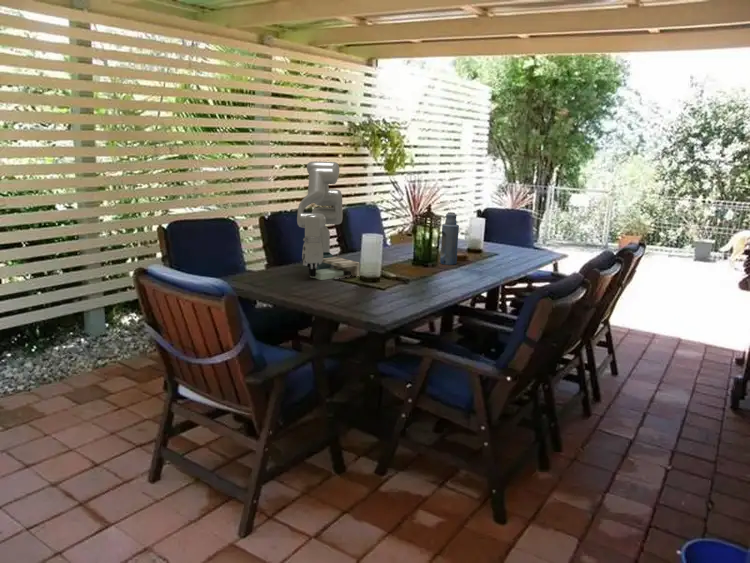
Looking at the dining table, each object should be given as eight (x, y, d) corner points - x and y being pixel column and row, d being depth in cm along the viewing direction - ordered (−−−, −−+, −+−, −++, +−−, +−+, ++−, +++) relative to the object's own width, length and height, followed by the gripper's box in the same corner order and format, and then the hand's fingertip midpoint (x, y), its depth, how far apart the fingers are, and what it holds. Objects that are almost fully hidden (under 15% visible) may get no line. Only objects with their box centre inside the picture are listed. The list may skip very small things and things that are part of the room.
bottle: (437, 262, 349) (439, 211, 343) (452, 261, 352) (455, 211, 346) (444, 265, 340) (446, 213, 334) (459, 264, 343) (462, 213, 337)
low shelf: (315, 273, 309) (315, 259, 307) (336, 270, 318) (336, 256, 316) (338, 280, 294) (338, 265, 293) (359, 276, 303) (359, 262, 301)
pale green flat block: (309, 276, 301) (309, 270, 300) (331, 273, 310) (331, 268, 309) (321, 280, 293) (321, 274, 293) (343, 276, 302) (343, 271, 302)
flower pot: (316, 271, 313) (316, 255, 311) (313, 268, 322) (313, 252, 320) (332, 271, 316) (332, 254, 314) (328, 268, 324) (329, 252, 322)
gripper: (304, 241, 284) (304, 279, 288) (329, 239, 294) (328, 275, 297) (295, 240, 290) (295, 276, 294) (320, 238, 299) (320, 273, 303)
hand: (312, 276), depth 295 cm, fingers closed
